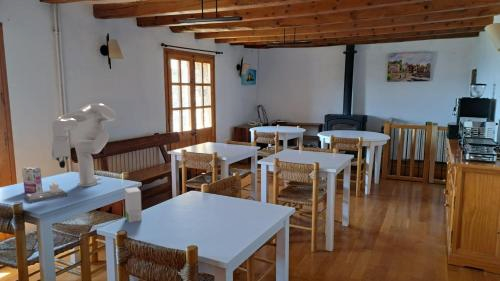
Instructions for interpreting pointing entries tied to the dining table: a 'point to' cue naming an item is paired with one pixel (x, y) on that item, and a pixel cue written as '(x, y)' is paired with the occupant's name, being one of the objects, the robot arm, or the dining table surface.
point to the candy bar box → (32, 180)
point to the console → (44, 195)
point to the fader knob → (54, 187)
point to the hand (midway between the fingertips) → (62, 167)
